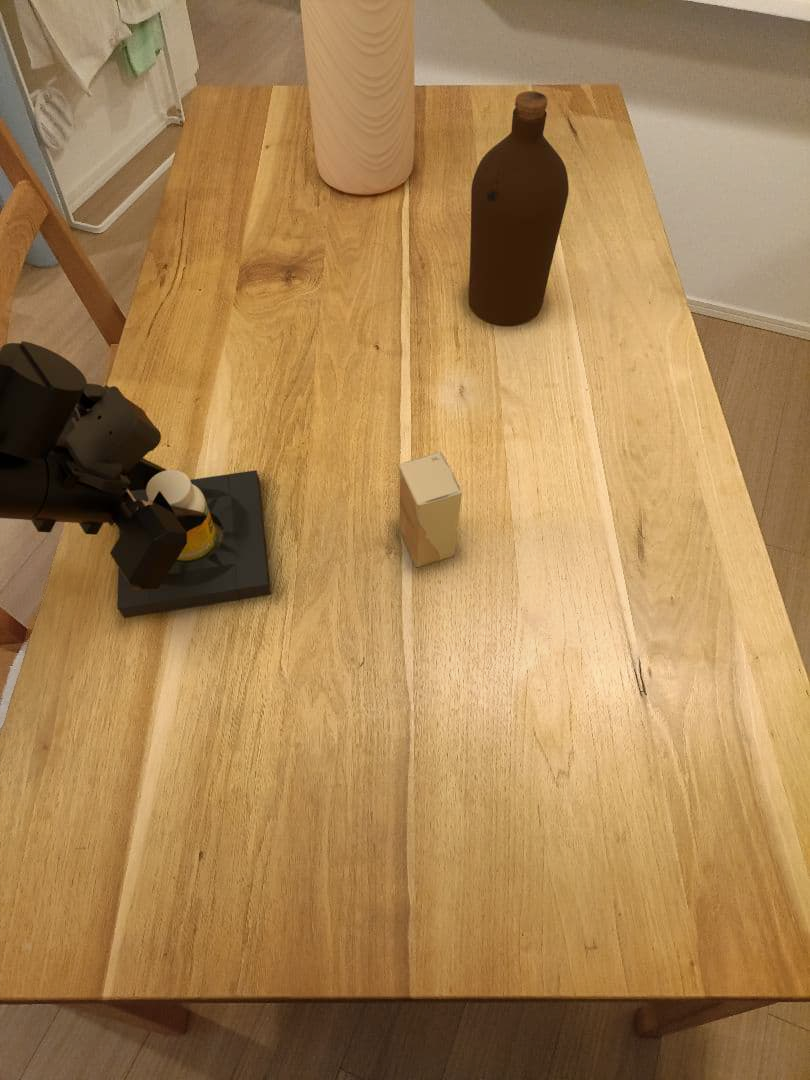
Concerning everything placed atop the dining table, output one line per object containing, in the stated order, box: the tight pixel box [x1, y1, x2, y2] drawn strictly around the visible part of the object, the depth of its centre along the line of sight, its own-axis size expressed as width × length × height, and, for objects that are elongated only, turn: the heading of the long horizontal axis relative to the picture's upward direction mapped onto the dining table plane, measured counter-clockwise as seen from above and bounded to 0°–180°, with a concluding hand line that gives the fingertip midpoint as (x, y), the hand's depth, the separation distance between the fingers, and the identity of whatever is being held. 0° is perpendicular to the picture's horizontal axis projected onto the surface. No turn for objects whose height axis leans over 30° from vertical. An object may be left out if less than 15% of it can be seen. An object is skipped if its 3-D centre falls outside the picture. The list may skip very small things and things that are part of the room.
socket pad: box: [116, 469, 272, 619], centre depth 76 cm, size 14×14×2 cm
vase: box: [299, 0, 415, 196], centre depth 100 cm, size 14×14×32 cm
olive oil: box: [467, 90, 570, 327], centre depth 87 cm, size 11×11×25 cm
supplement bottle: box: [146, 469, 219, 563], centre depth 73 cm, size 5×5×10 cm
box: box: [398, 451, 463, 568], centre depth 73 cm, size 5×4×11 cm
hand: (189, 499), depth 72 cm, fingers closed on supplement bottle, 5 cm apart
